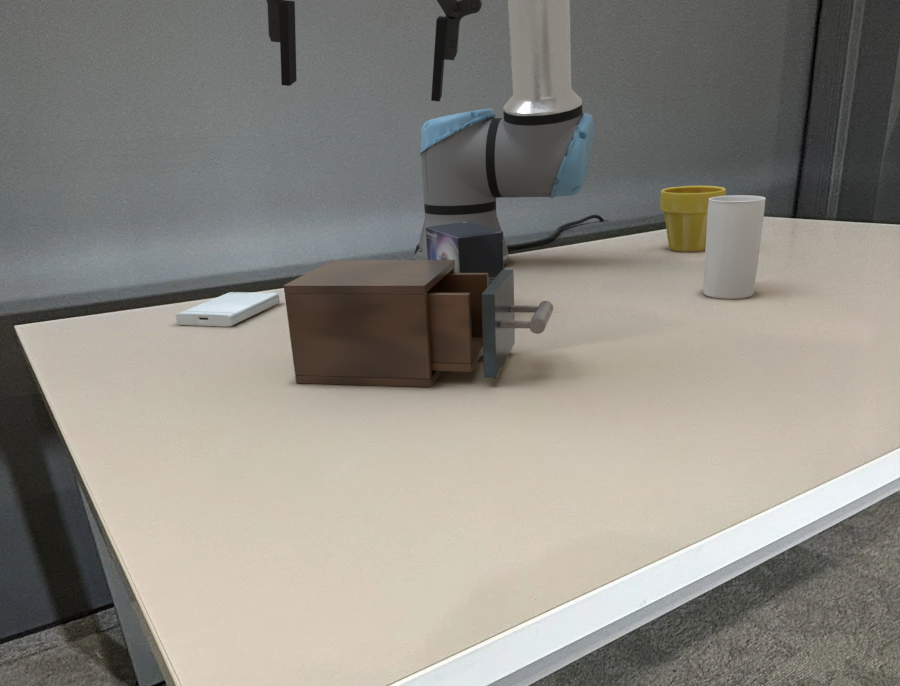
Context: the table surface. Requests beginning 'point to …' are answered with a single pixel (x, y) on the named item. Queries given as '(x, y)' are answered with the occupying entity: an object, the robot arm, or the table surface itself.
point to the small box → (467, 247)
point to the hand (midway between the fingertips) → (362, 91)
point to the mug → (732, 245)
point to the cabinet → (364, 322)
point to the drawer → (477, 321)
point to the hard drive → (227, 309)
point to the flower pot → (687, 215)
